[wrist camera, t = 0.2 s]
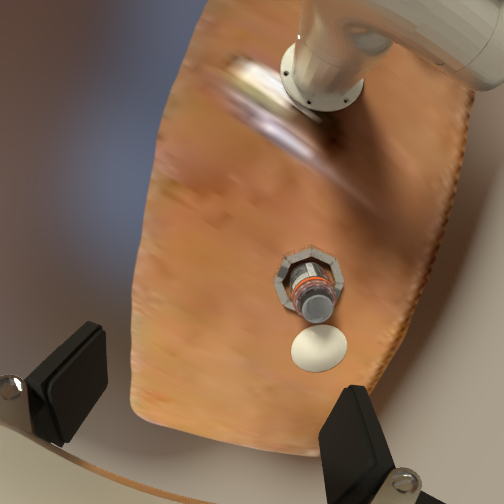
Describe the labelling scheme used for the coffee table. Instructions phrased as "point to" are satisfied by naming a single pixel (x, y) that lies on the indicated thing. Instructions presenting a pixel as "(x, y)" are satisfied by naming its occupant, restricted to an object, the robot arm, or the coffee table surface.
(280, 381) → the coffee table surface
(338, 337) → the coaster
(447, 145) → the coffee table surface
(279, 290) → the ring holder
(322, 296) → the supplement bottle
